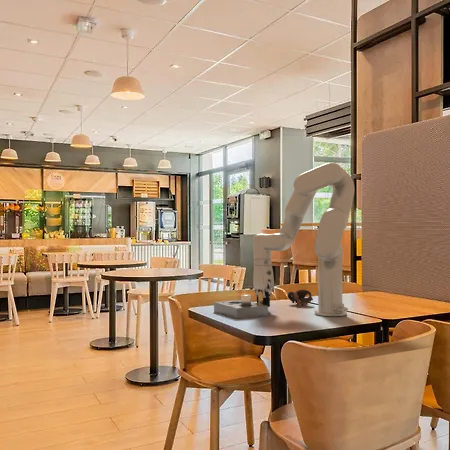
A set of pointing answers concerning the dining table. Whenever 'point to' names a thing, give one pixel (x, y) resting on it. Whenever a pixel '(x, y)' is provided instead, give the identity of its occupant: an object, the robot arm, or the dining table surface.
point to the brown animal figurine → (300, 297)
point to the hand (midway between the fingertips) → (263, 305)
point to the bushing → (260, 297)
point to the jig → (241, 308)
